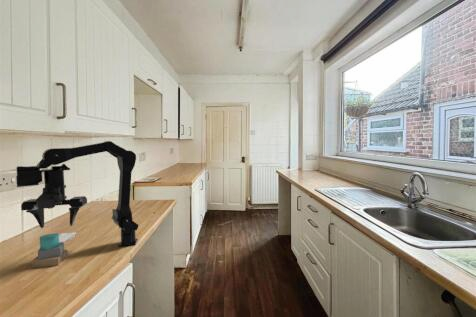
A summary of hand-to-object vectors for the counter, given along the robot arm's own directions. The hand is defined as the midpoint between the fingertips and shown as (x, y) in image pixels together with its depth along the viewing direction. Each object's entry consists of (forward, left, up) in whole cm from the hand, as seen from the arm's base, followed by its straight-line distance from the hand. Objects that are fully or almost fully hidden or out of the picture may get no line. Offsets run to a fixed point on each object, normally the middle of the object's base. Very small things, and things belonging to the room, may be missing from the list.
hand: (57, 226), depth 91 cm
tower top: (-1, -2, -10) cm, 10 cm away
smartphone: (-24, -9, -13) cm, 29 cm away
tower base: (0, -3, -13) cm, 13 cm away
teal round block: (0, -3, -7) cm, 8 cm away
